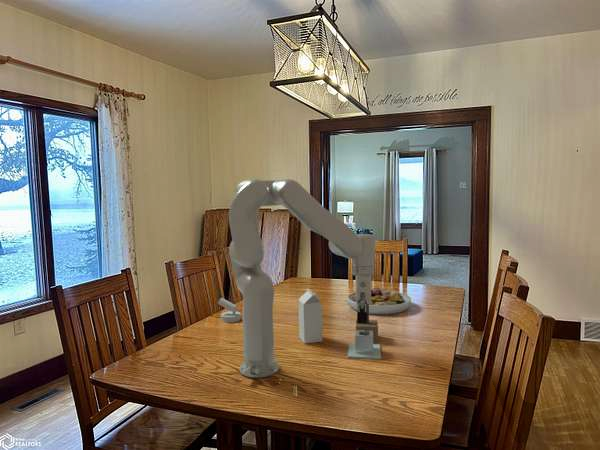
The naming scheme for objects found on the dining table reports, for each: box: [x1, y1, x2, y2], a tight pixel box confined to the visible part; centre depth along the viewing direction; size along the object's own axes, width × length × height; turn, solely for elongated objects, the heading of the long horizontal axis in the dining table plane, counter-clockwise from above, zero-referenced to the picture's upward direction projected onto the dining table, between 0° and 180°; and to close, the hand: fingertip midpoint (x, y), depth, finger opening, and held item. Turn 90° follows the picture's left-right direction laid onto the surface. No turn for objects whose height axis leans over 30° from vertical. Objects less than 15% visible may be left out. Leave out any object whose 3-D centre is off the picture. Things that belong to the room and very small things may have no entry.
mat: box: [347, 342, 382, 360], centre depth 146 cm, size 12×11×1 cm
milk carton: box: [298, 288, 324, 344], centre depth 159 cm, size 7×7×19 cm
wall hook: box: [217, 297, 242, 324], centre depth 186 cm, size 9×10×10 cm
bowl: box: [346, 286, 412, 316], centre depth 201 cm, size 30×30×8 cm
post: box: [355, 304, 379, 344], centre depth 159 cm, size 8×8×15 cm
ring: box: [354, 329, 374, 354], centre depth 146 cm, size 6×6×6 cm
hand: (361, 319), depth 145 cm, fingers open, 9 cm apart
